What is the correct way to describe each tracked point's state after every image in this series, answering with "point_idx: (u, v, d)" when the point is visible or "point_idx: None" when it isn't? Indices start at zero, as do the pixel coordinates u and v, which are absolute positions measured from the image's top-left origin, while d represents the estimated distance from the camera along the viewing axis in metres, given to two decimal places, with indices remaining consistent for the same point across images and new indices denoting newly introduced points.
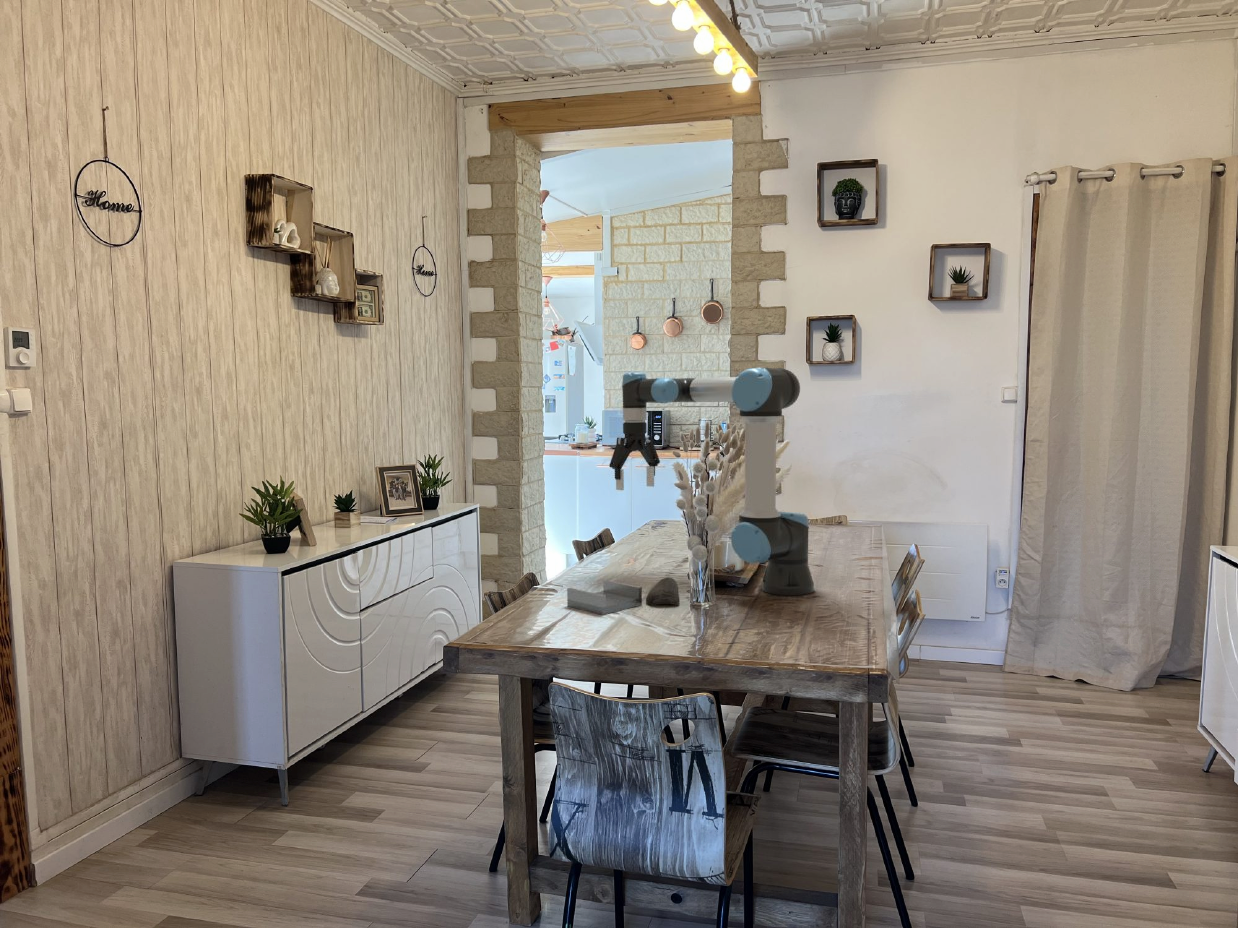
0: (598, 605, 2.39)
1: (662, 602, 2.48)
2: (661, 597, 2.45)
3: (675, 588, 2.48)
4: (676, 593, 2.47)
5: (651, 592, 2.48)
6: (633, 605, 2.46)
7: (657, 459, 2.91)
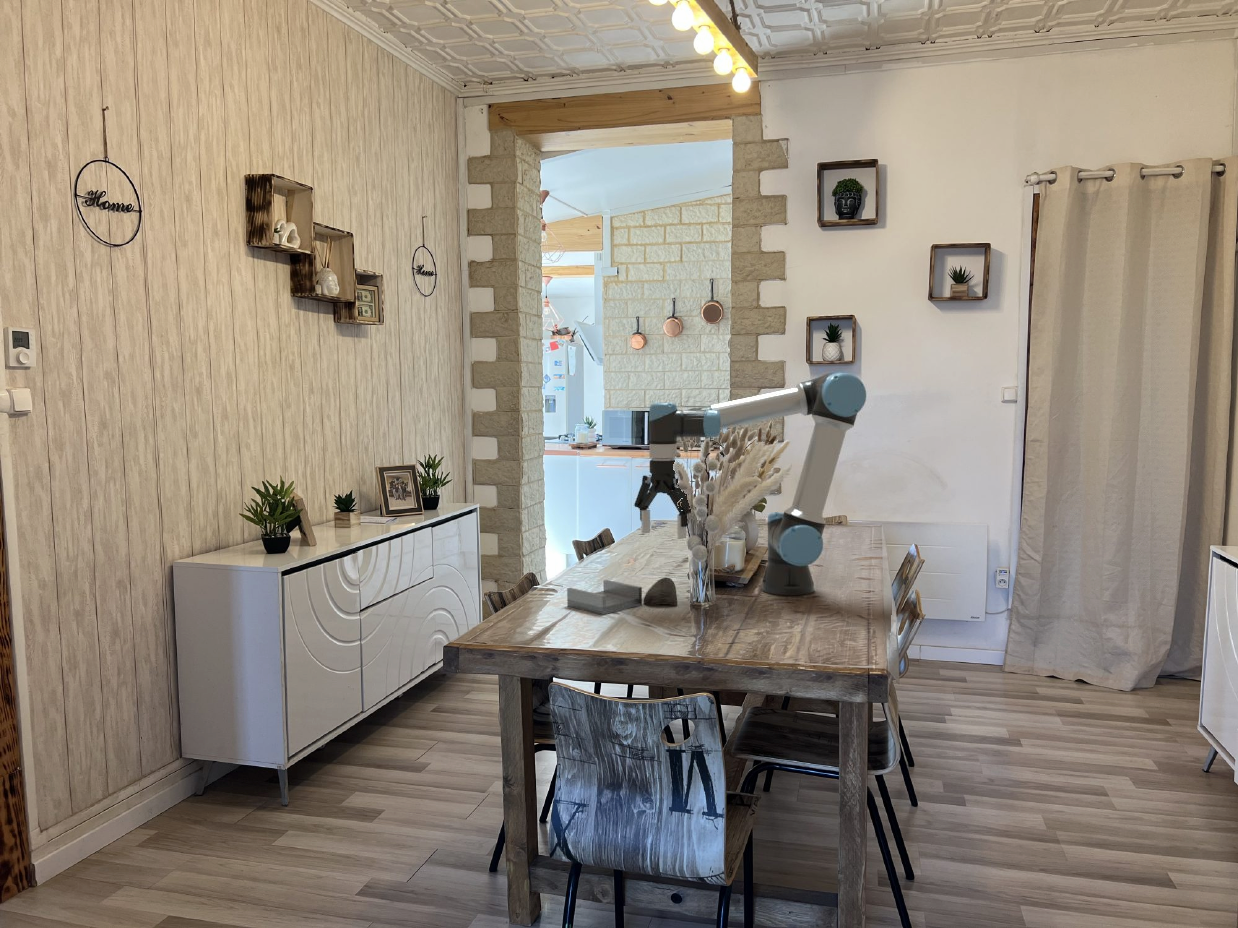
0: (598, 605, 2.39)
1: (660, 602, 2.48)
2: (659, 597, 2.45)
3: (673, 588, 2.48)
4: (674, 593, 2.47)
5: (649, 592, 2.48)
6: (633, 605, 2.46)
7: (684, 507, 2.41)
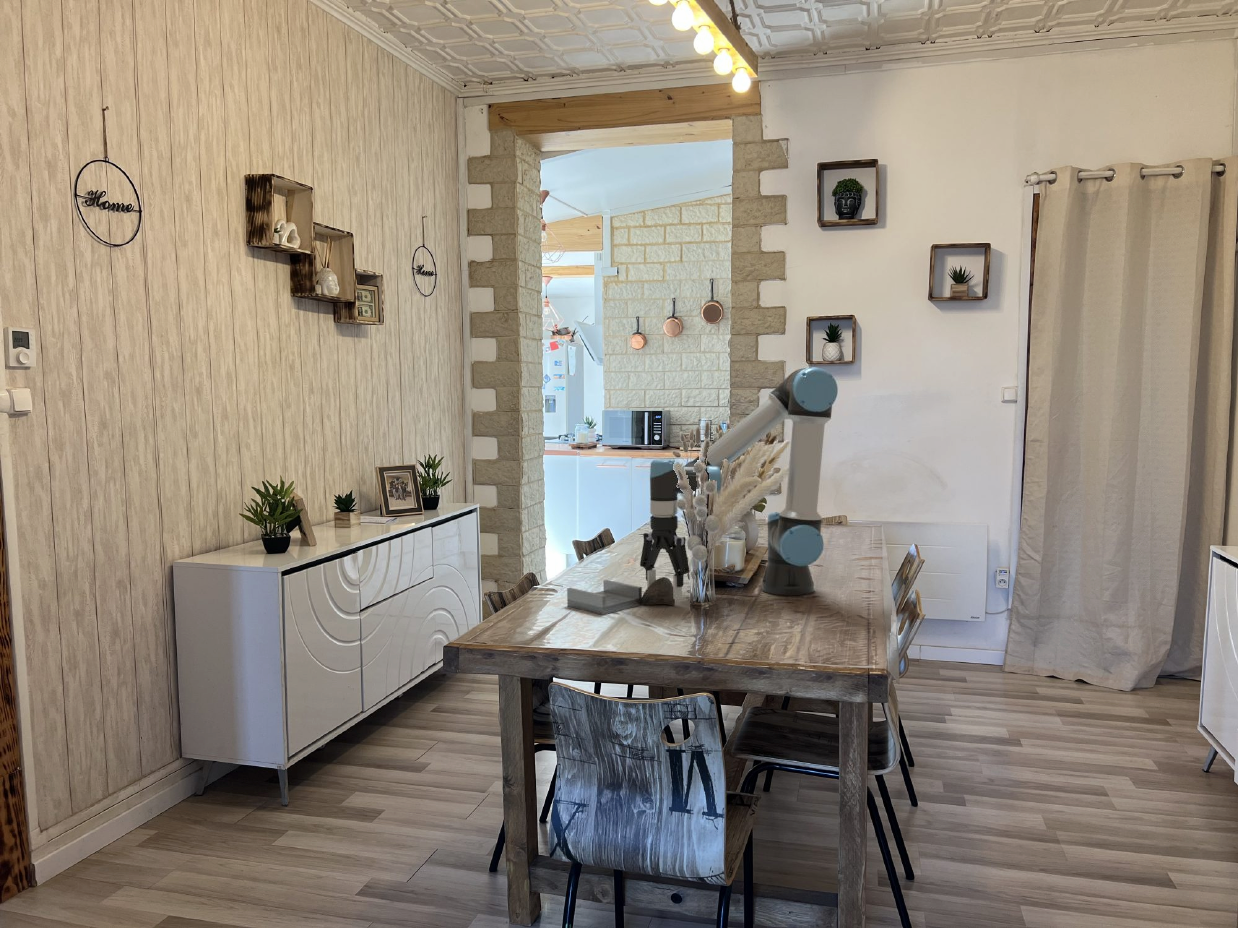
0: (598, 605, 2.39)
1: (657, 602, 2.47)
2: (657, 597, 2.45)
3: (670, 588, 2.47)
4: (671, 593, 2.46)
5: (646, 592, 2.48)
6: (633, 605, 2.46)
7: (681, 568, 2.43)
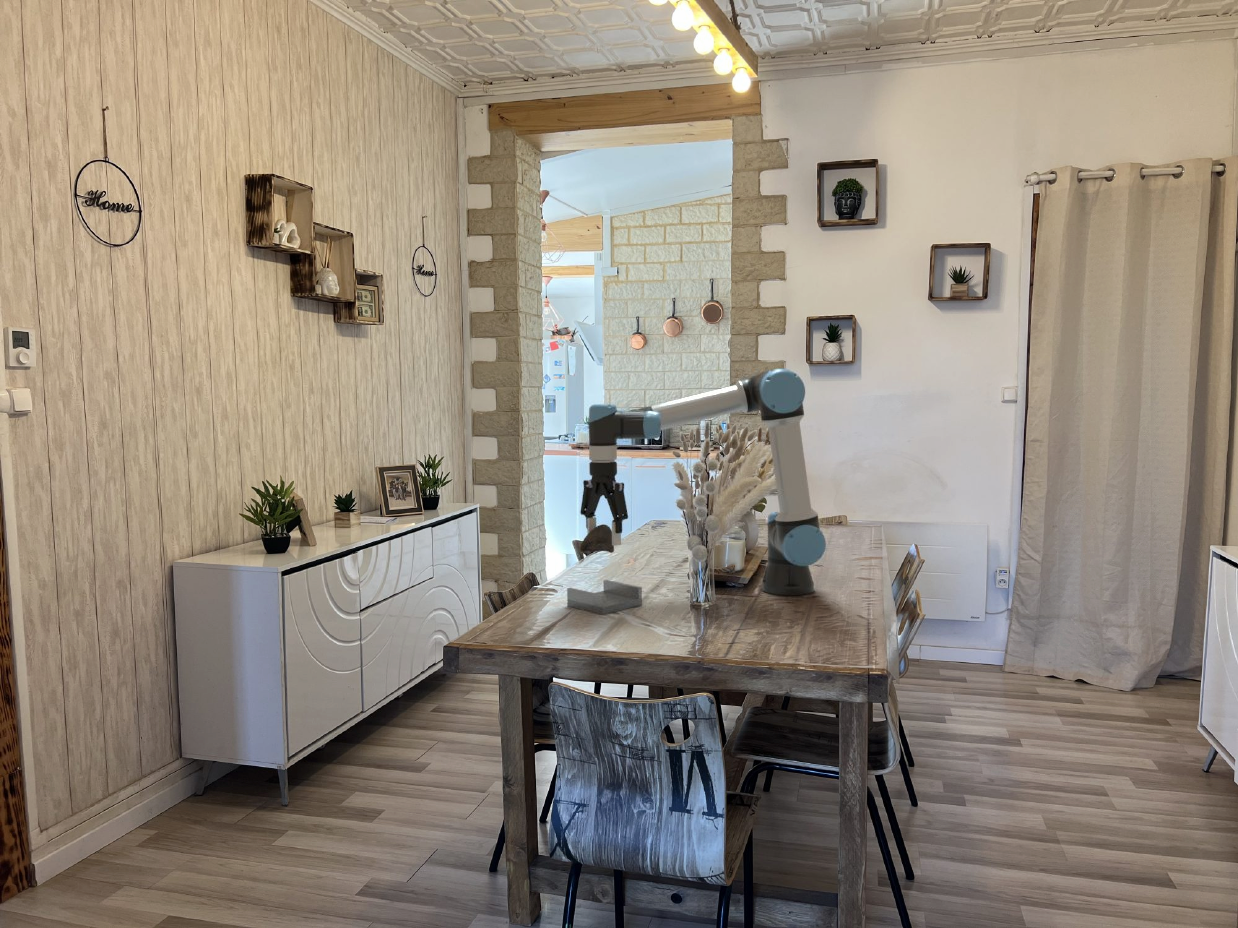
0: (598, 605, 2.39)
1: (596, 549, 2.44)
2: (595, 543, 2.41)
3: (609, 535, 2.44)
4: (610, 540, 2.43)
5: (585, 539, 2.44)
6: (633, 605, 2.46)
7: (619, 514, 2.40)
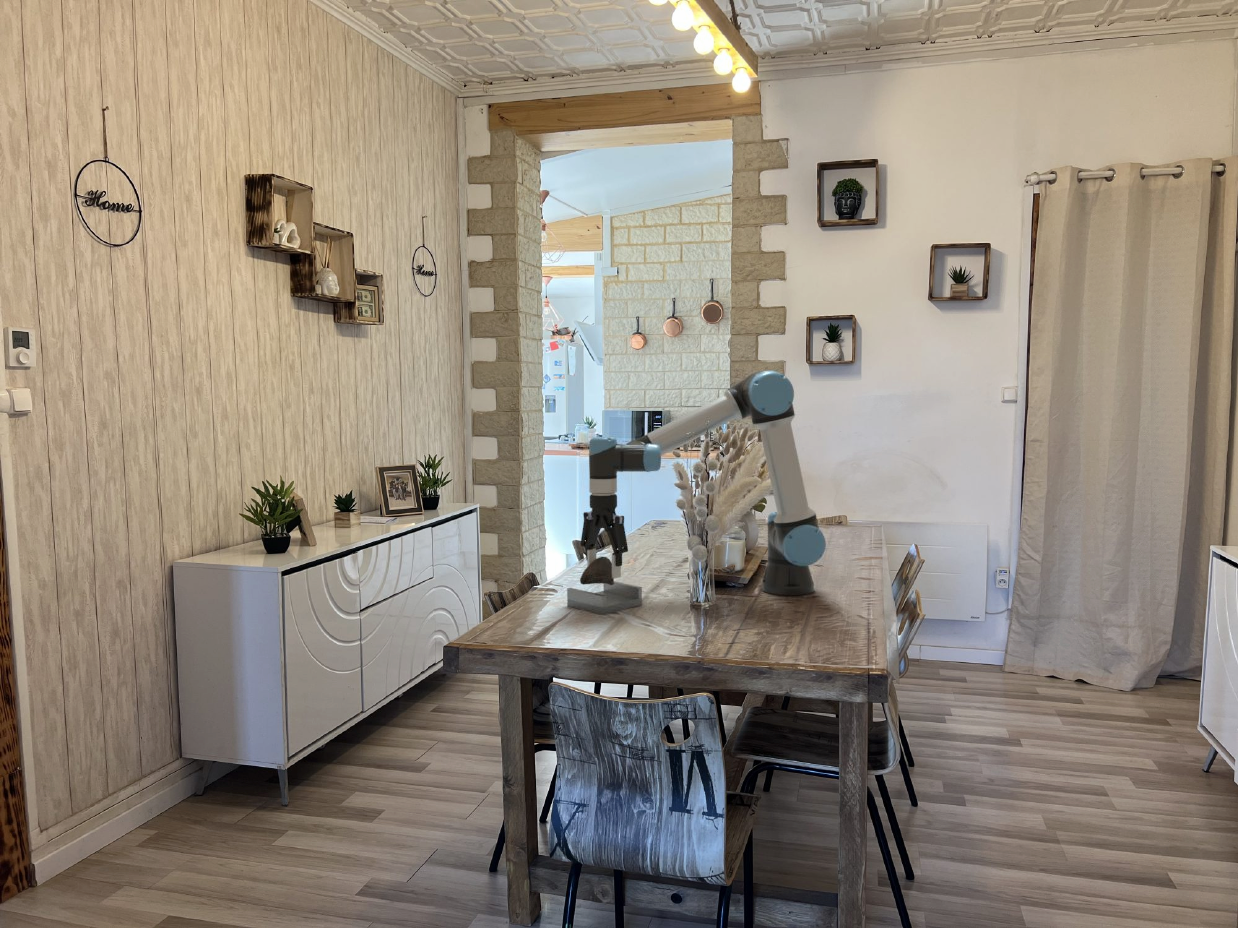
0: (598, 605, 2.39)
1: (596, 581, 2.44)
2: (595, 576, 2.42)
3: (609, 567, 2.44)
4: (610, 572, 2.44)
5: (585, 571, 2.45)
6: (633, 605, 2.46)
7: (619, 547, 2.40)
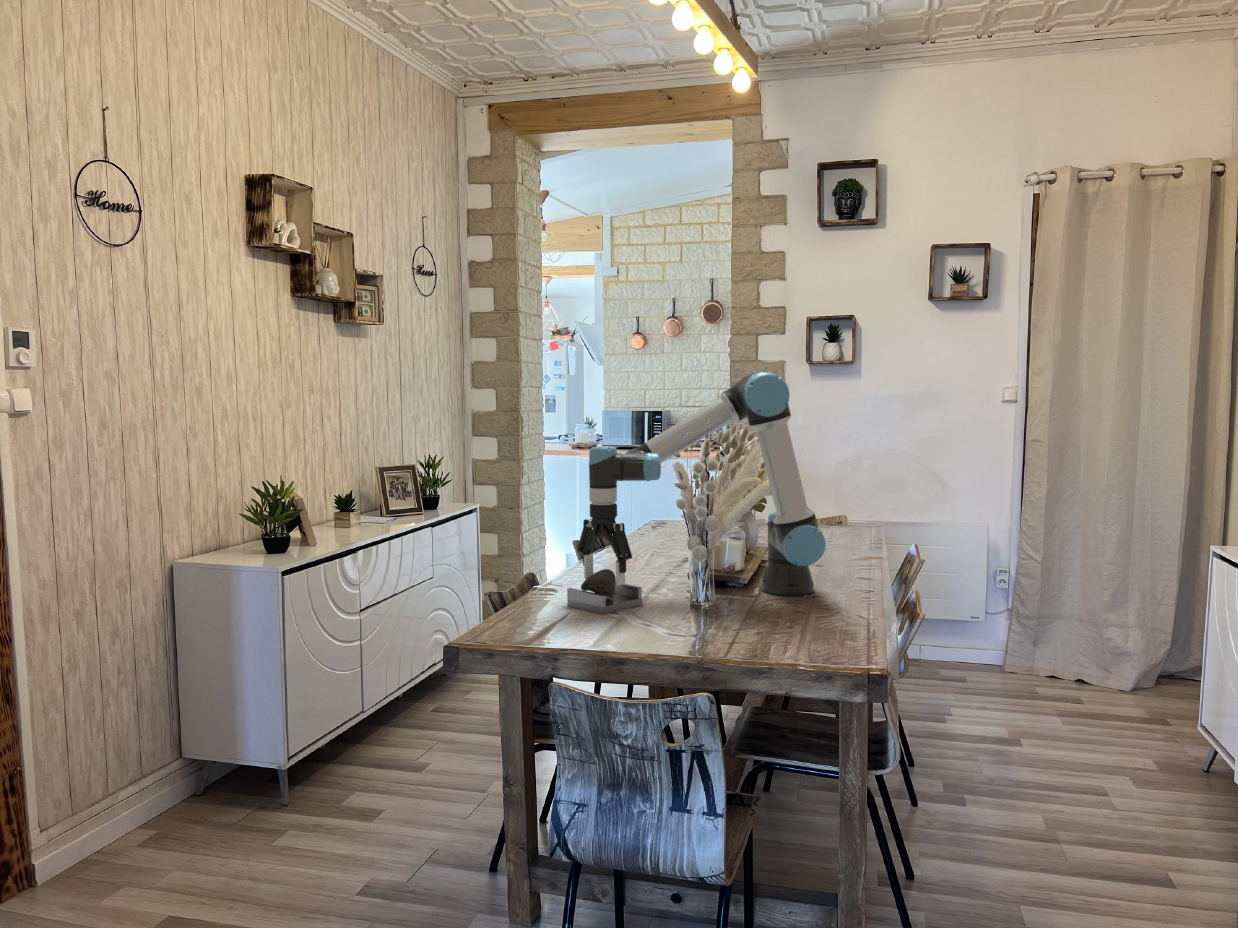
0: (598, 605, 2.39)
1: (597, 590, 2.45)
2: (598, 583, 2.43)
3: (613, 580, 2.46)
4: (613, 584, 2.44)
5: (589, 578, 2.45)
6: (633, 605, 2.46)
7: (622, 554, 2.40)
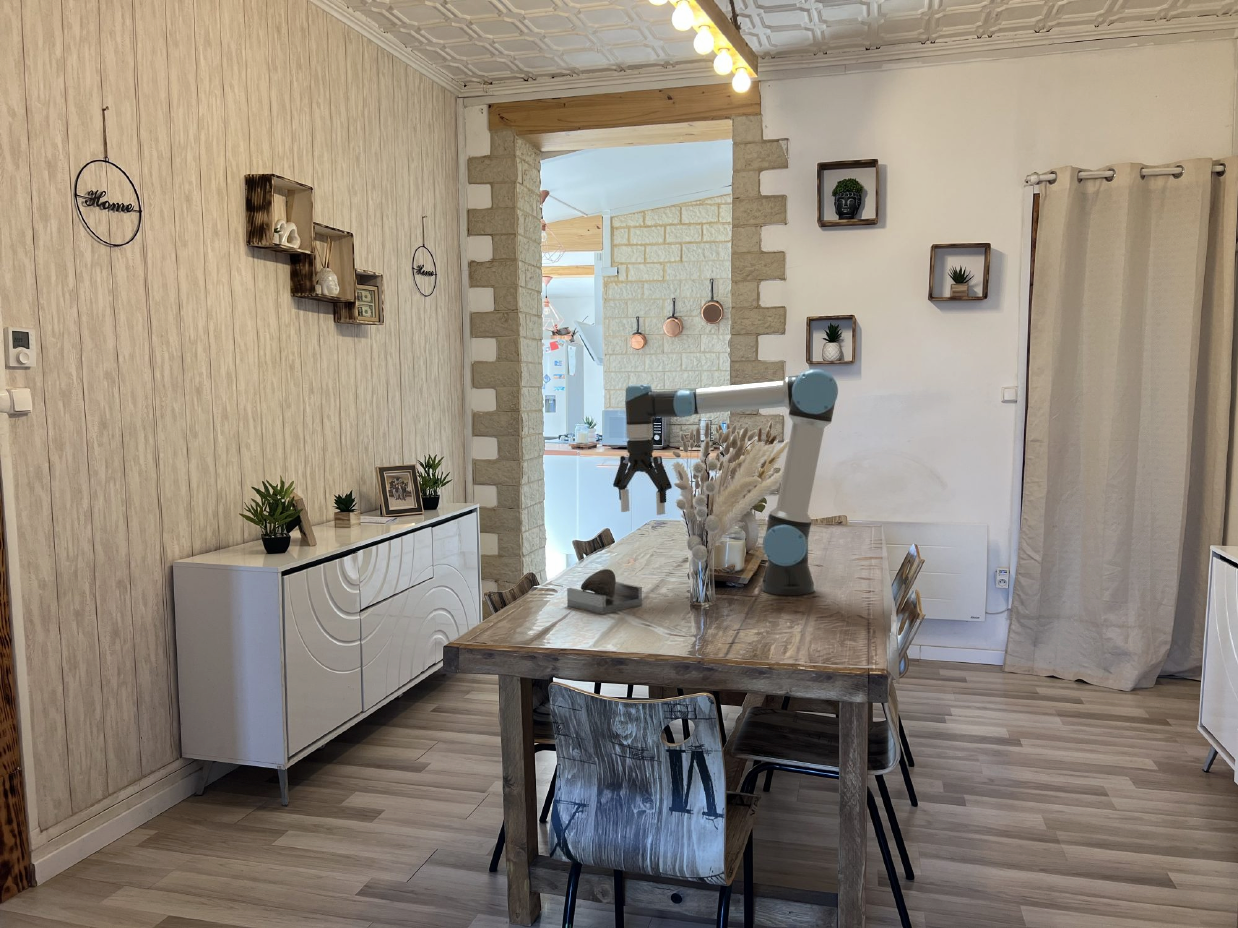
0: (598, 605, 2.39)
1: (597, 590, 2.45)
2: (598, 583, 2.43)
3: (613, 580, 2.46)
4: (613, 584, 2.44)
5: (589, 578, 2.45)
6: (633, 605, 2.46)
7: (663, 484, 2.51)
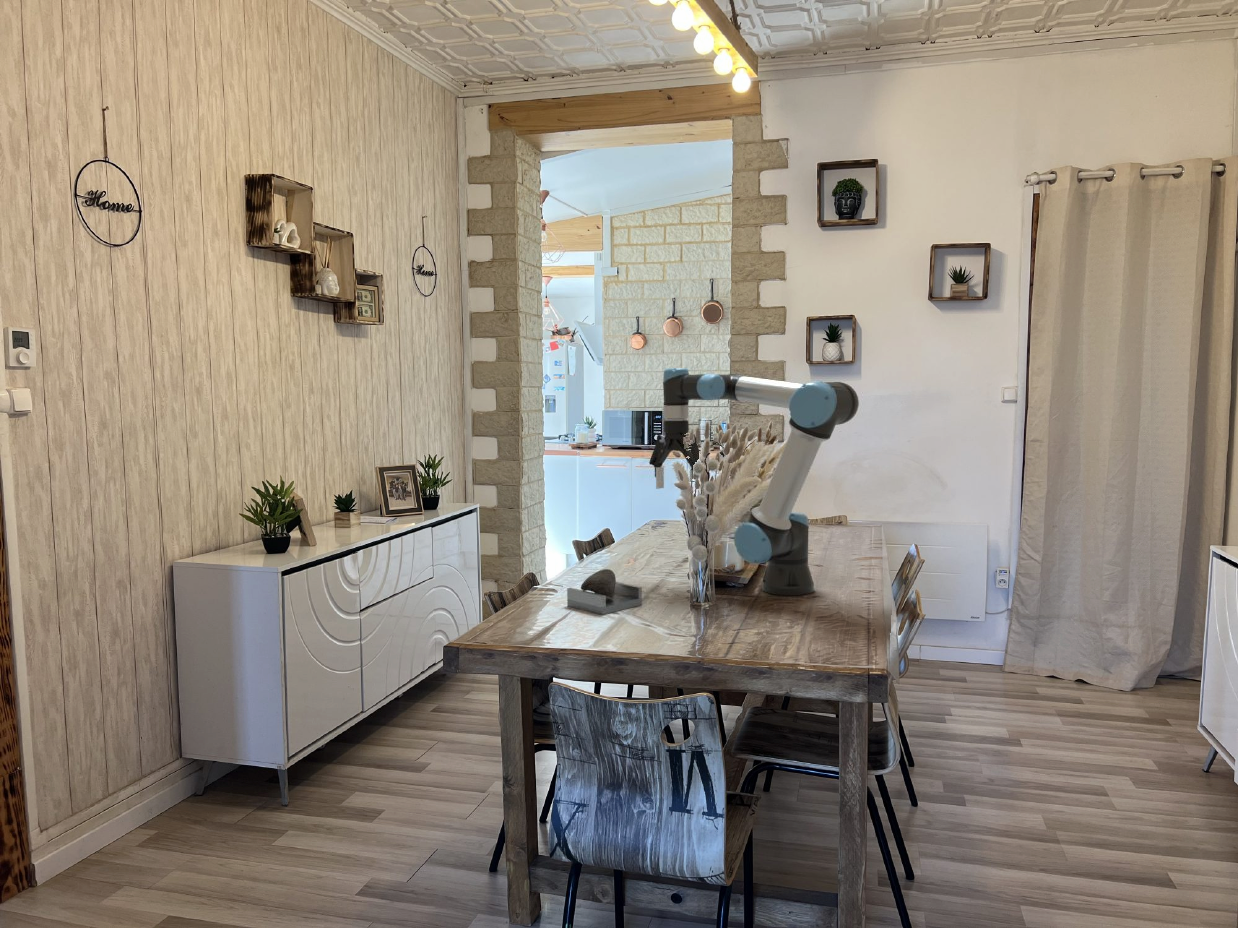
0: (598, 605, 2.39)
1: (597, 590, 2.45)
2: (598, 583, 2.43)
3: (613, 580, 2.46)
4: (613, 584, 2.44)
5: (589, 578, 2.45)
6: (633, 605, 2.46)
7: None
